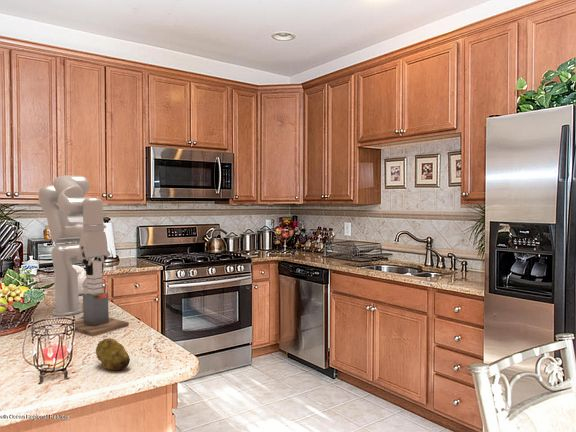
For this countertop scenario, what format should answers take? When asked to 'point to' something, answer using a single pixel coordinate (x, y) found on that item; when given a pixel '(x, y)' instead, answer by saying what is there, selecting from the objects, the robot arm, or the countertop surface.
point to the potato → (112, 354)
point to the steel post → (95, 279)
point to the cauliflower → (80, 278)
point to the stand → (97, 316)
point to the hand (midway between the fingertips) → (94, 273)
